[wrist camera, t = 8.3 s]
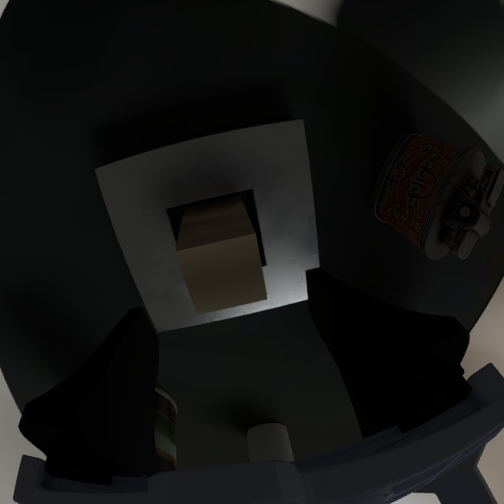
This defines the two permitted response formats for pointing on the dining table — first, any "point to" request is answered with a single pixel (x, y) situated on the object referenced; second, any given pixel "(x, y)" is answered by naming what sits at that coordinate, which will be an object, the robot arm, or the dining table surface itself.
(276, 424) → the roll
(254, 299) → the peg
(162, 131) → the dining table surface
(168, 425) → the coffee can
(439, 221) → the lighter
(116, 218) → the square hole board
